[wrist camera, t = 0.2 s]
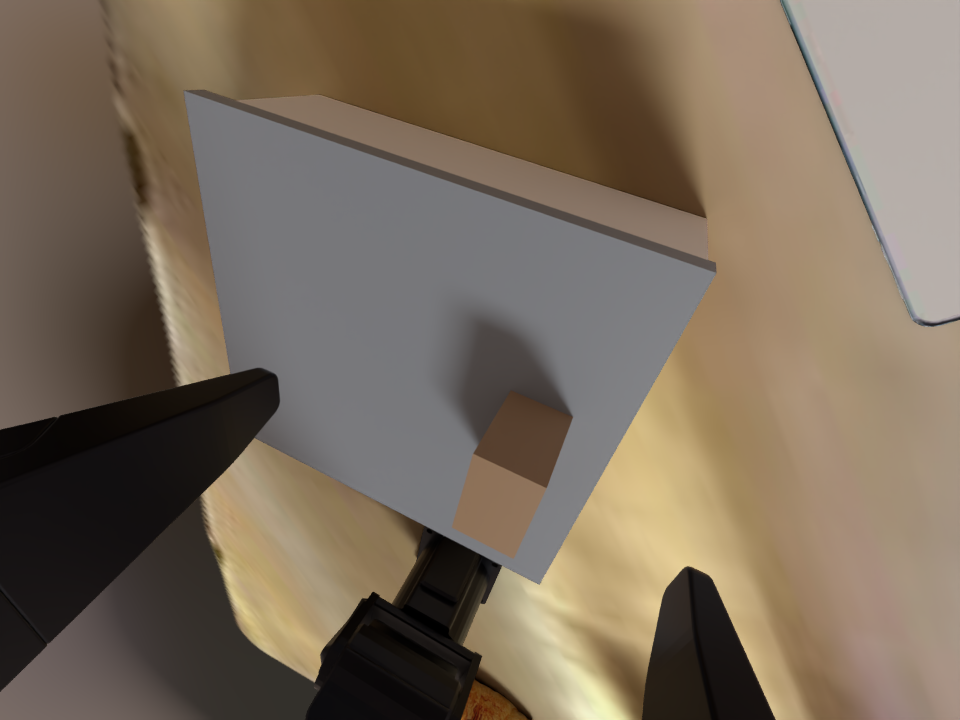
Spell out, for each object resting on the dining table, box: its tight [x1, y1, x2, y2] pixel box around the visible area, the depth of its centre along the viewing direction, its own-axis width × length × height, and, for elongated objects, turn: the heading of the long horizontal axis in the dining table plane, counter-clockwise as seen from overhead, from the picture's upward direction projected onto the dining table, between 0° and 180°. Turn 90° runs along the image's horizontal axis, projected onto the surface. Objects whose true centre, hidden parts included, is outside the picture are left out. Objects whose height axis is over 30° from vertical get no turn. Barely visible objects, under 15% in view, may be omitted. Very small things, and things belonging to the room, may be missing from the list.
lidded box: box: [236, 95, 708, 260], centre depth 22 cm, size 16×18×6 cm
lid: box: [184, 90, 716, 584], centre depth 18 cm, size 17×18×4 cm
